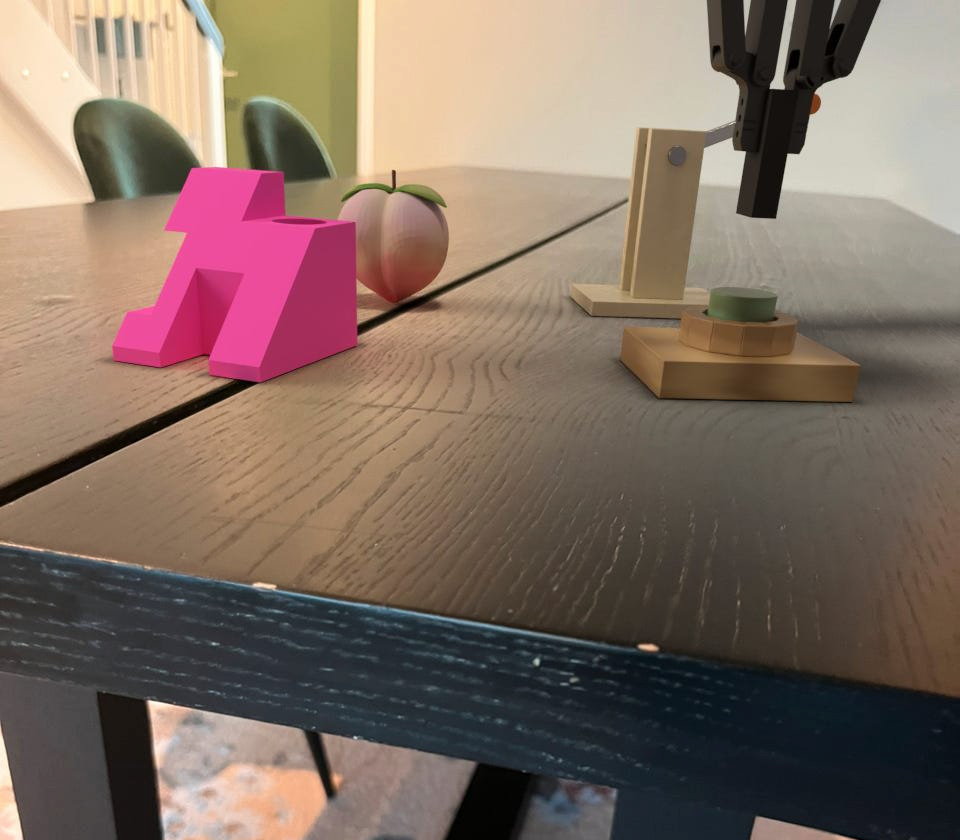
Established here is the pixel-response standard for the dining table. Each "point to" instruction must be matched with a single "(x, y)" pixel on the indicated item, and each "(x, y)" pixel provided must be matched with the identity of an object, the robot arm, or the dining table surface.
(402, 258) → the decorative fruit
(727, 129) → the lever
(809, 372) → the button block
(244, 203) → the bracket
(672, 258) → the bracket
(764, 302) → the button
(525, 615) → the dining table surface
